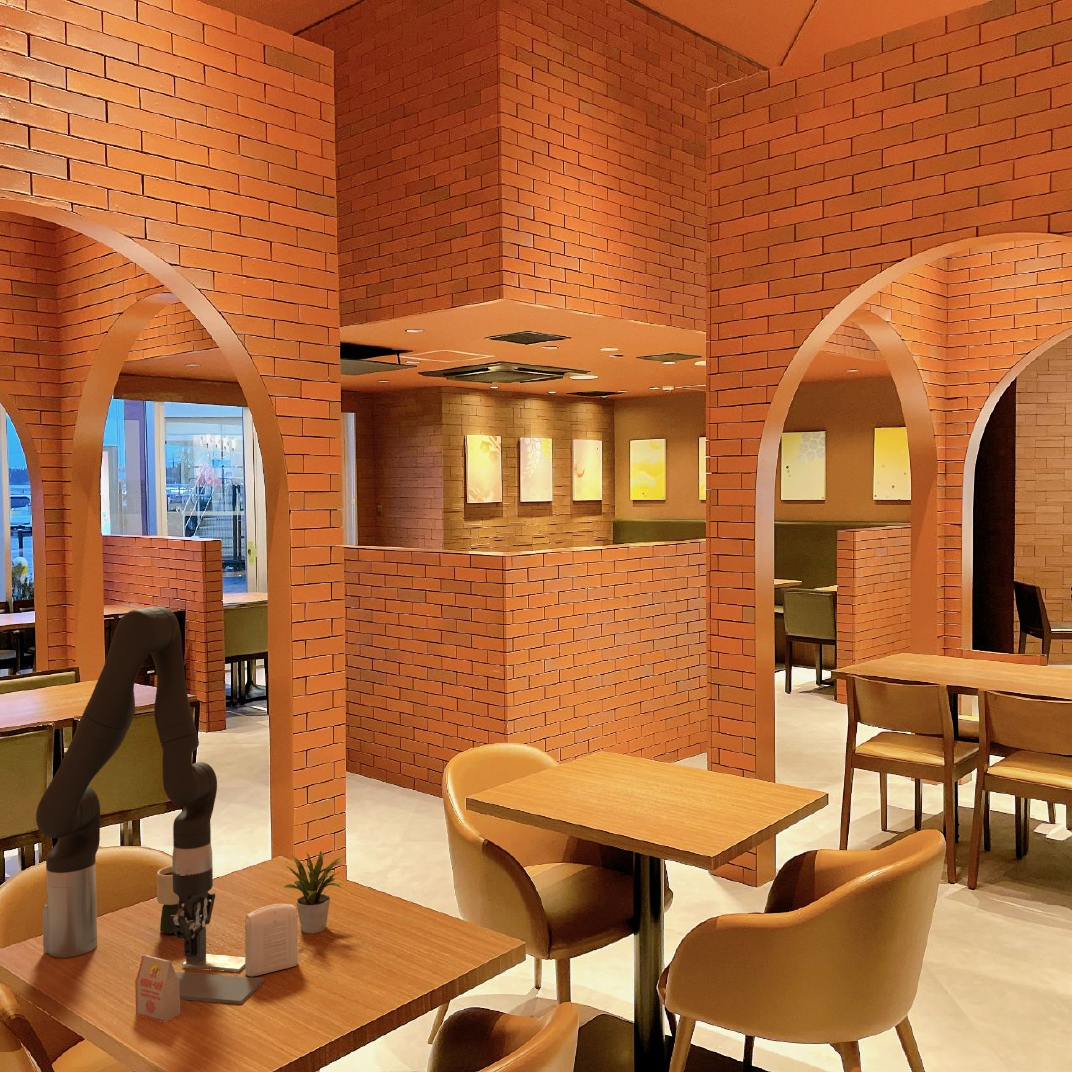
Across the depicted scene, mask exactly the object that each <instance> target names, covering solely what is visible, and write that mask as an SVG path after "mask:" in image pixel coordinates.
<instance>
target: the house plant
mask: <svg viewBox="0 0 1072 1072" xmlns="http://www.w3.org/2000/svg"><path fill="white" fill-rule="evenodd" d="M306 855H307V860H308V864H306V867H307V868H308V870H309V871H308V872H306V870H305V867H304V865H303V863H302V862H301V861H300V860H299V859H298V858H297V857H295V856H294V855H291V857H292V860H293V861H294V863H295V865H296V868H297V870H298V872H296V871H295V870H294V869H293V868H291V867H290V866H285V867H286V868H287V869H288V870H290V872H291V873H292V874H294V875H295V877H296V878H297V879H298V880H295V881H294V884H292V883H290V884H286V885H285V886H283V887H282V889H283V888H284V889H285V888H286V889H287V888H288V889H296V890H299V891H300V892H301V893H302V896H299V897H298V898H296V900H295V902H296V907H297V908H296V910H297V915H298V918H299V919H298V920H299V925H300V929H301V932H303V933H305V934H317V933H320V932H323V931H325V930H326V929H327V922H328V917H329V915H328V914H329V909H330V902H331V900H330V899H331V897H330V896H329V895H328V894H326V893H327V891H329V889H331V888H332V887H331V886H335V887H339V888H340V889H342V887H341V886H340V884H339V883H336V882H333V881H335V880H336V878H334V877H335V876H336V875H338V874H339V872H333V871H331V870H332V869H333V868H334V867H336V866H341V865H342V861H340V860H341V859H343V858H345V857H346V855H344V856H340V857H338V858H336V859H335V860H333V861H332V862H331V863H330V864H329V865H328V866H327V867H325V868H323V869H322V867H323V865H324V856H325V852H322V850H320V852H319V854H318V858H317V860H316V862H315V865H313V862H312V860H311V857H310V855H309V853H308V852H306ZM307 874H308V875H307ZM329 874H332V875H329ZM308 878H309V879H308ZM328 886H330V888H329V889H328V890H326V891H325V892H324V889H325V888H326V887H328ZM323 892H324V893H323ZM324 929H325V930H324Z"/></svg>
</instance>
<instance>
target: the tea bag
mask: <svg viewBox="0 0 1072 1072" xmlns="http://www.w3.org/2000/svg"><path fill="white" fill-rule="evenodd" d="M134 982H135V1016H138V1015H139V1016H138V1017H142V1016H143V1017H142V1018H145V1017H147V1019H149V1020H153V1021H156V1022H159V1021H161V1022H160V1023H163V1022H164V1023H166V1022H167V1021H168V1022H169V1021H170V1020H171V1019H173V1018H174V1017H176V1016H178V1015H180V1014H181V1001H180V1000H181V999H180V990H179V979H178V977H177V975H176V971H175V968H174V967H173V962H172V961H171V960H168V959H163V958H159V957H155V956H152V955H147V954H142V955H141V961H140V965H139V969H138V972H137V975H136V978H135V981H134ZM165 1021H166V1022H165Z"/></svg>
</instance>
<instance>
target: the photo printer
mask: <svg viewBox="0 0 1072 1072" xmlns="http://www.w3.org/2000/svg"><path fill="white" fill-rule="evenodd" d="M296 907H297V906H294V904H291V903H274V904H269V905H265V906H263V907H259V908H257V909H254V910H253V911H251V912H249V913H248V914H246V916H245V920H244V921H245V922H244V923H245V925H244V932H245V933H244V943H245V944H244V946H245V947H244V951H245V953H244V955H245V956H244V957H245V968H244V970H245V975H246V976H248V977H249V978H253V977H256V976H261V975H264V974H269V973H273V972H276V971H280V970H284V969H285V970H286V969H289V968H292V967H295V966H296V967H297V965H298V964H299V963H298V961H299V960H298V959H299V957H298V955H299V952H298V951H299V950H298V949H299V948H298V940H299V939H298V910H297V908H296Z"/></svg>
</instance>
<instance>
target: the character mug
mask: <svg viewBox="0 0 1072 1072" xmlns="http://www.w3.org/2000/svg"><path fill="white" fill-rule="evenodd" d="M156 899H157V902H158V904H160V905H163V906H162V907H161V908H162V909H161V915H160V924H159V925H160V927H159V931H160V932H161V933H162V934H172V933H175V932H174V929H173V927H172V924H171V922H170V917H171V915H176V913H177V912H178V902H179V897H178V895H176V894H175V893H174V892H173V870H172V865H168V866H165V867H162V868H160V869H159V870H157V872H156ZM187 921H190V920H187ZM189 928H190V927H189Z"/></svg>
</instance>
